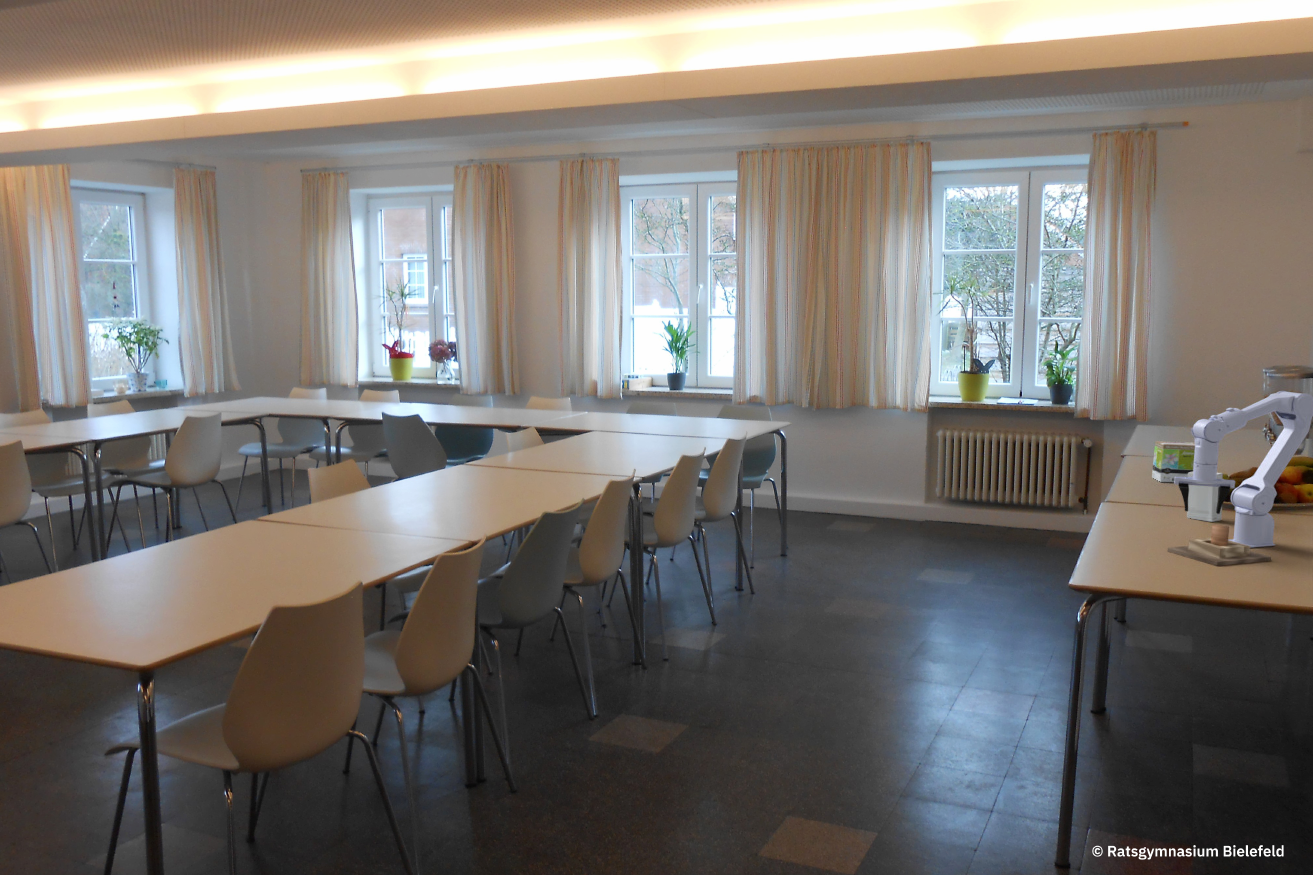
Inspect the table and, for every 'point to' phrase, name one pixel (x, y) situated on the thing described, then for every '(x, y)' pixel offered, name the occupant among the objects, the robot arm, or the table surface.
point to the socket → (1219, 553)
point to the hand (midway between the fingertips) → (1202, 511)
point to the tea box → (1172, 460)
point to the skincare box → (1203, 501)
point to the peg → (1219, 535)
